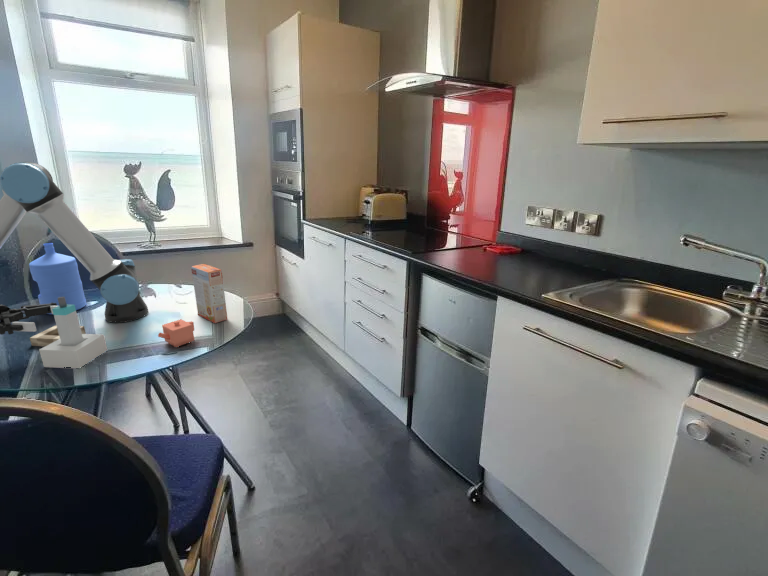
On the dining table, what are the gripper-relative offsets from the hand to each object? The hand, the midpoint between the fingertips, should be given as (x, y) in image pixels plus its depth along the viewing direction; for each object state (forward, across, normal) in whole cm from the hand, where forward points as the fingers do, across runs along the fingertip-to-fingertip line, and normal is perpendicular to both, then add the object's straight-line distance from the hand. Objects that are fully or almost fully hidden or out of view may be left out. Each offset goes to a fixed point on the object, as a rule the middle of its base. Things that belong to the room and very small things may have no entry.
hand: (53, 318), depth 131 cm
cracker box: (+32, -38, -14) cm, 51 cm away
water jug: (-36, -42, -14) cm, 57 cm away
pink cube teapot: (+31, -13, -14) cm, 37 cm away
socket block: (+4, 0, -14) cm, 15 cm away
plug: (+4, 0, -11) cm, 12 cm away
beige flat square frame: (-13, -13, -14) cm, 23 cm away
